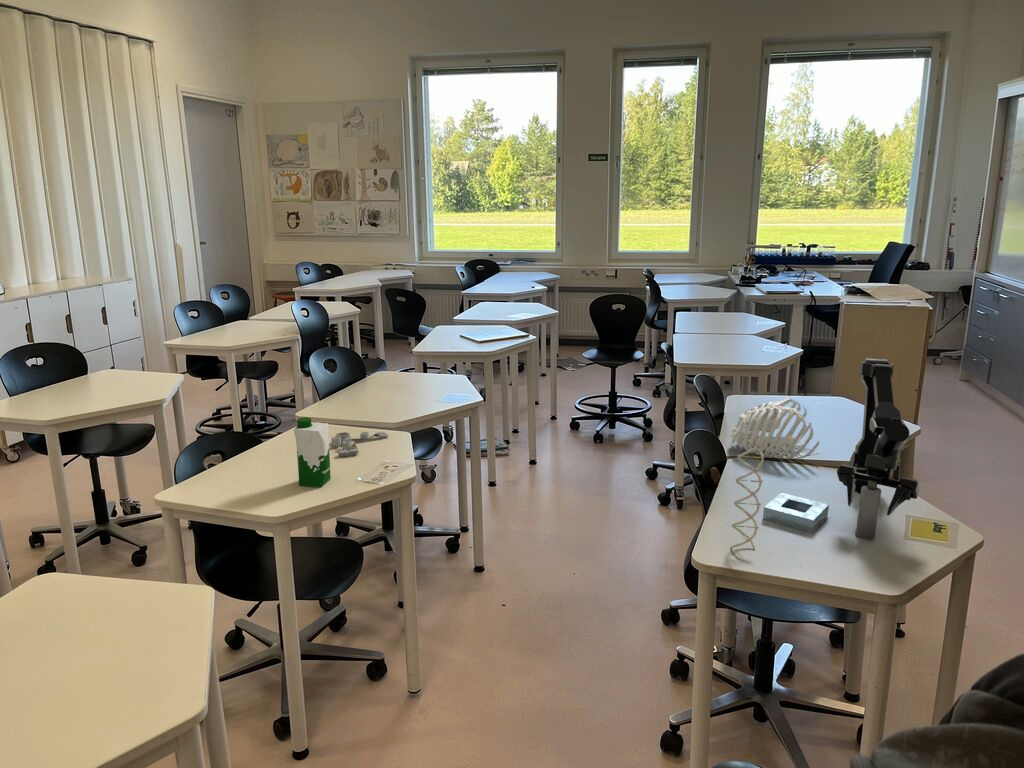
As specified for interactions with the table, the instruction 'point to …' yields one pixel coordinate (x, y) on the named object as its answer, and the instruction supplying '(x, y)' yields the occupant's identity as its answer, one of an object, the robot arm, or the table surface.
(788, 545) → the table surface
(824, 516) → the grey square frame
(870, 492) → the plug
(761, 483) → the dna model
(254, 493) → the table surface
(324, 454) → the milk carton
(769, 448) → the rib cage
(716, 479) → the bolt
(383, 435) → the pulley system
